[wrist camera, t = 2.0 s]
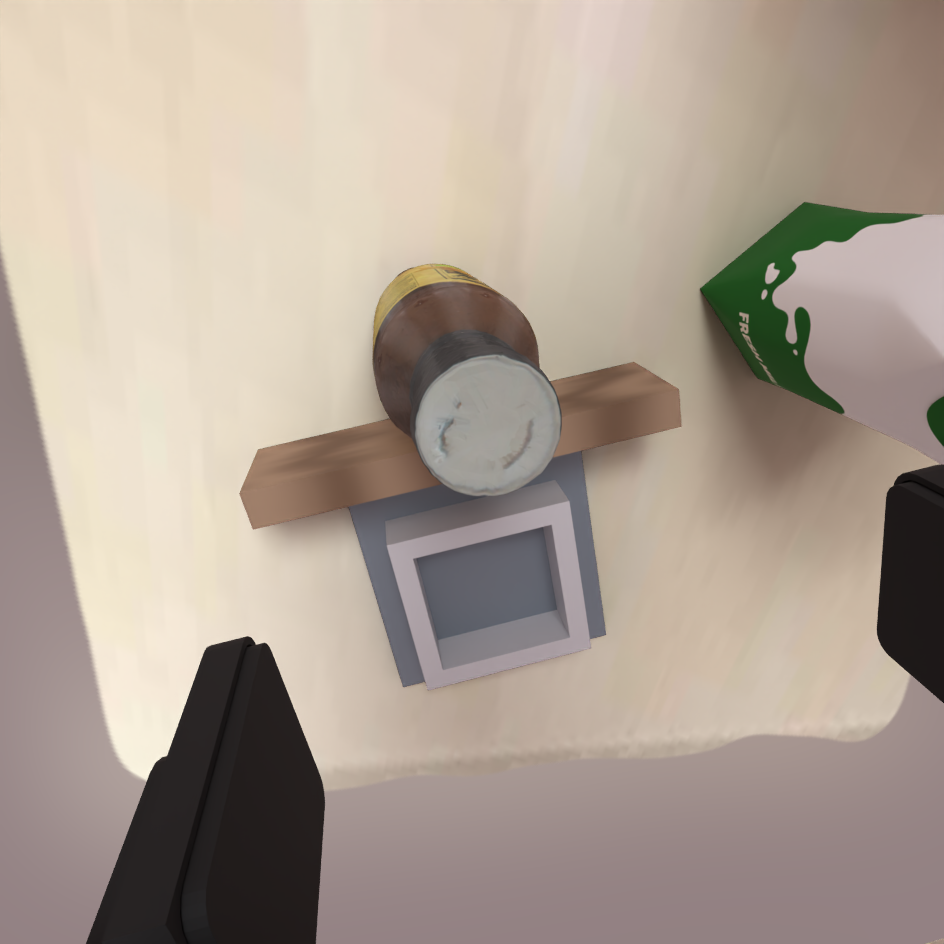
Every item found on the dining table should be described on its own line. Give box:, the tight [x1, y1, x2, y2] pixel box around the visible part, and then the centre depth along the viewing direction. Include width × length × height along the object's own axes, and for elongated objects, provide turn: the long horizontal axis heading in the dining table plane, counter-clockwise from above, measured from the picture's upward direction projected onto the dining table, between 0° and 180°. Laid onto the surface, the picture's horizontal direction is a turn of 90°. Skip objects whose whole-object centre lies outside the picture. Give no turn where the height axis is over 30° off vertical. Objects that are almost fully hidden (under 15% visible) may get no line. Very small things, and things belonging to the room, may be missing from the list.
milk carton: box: [700, 202, 944, 465], centre depth 29 cm, size 9×9×20 cm
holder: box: [349, 451, 606, 690], centre depth 40 cm, size 14×14×4 cm
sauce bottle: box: [373, 264, 562, 497], centre depth 26 cm, size 6×6×20 cm
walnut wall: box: [239, 362, 681, 529], centre depth 35 cm, size 22×2×6 cm, turn 101°
